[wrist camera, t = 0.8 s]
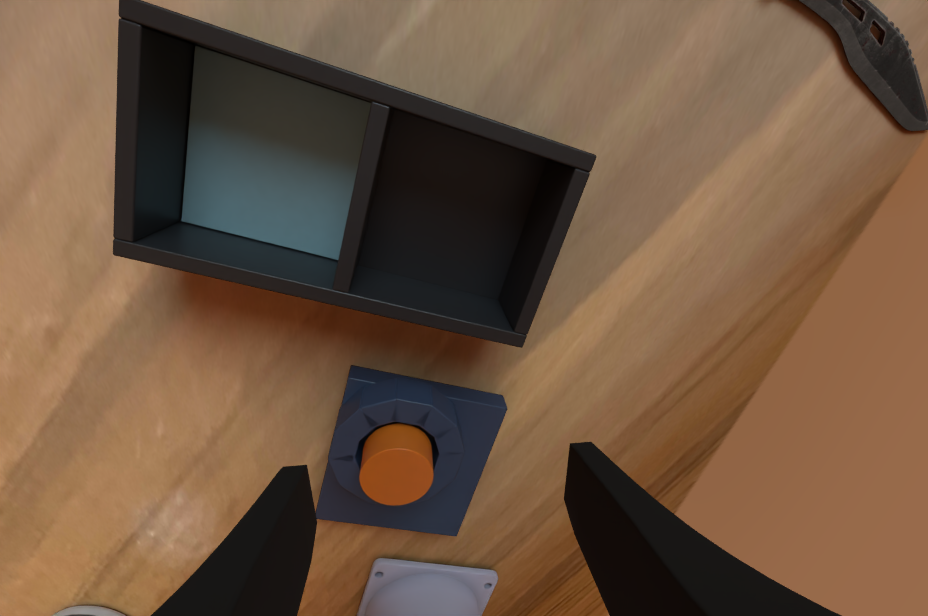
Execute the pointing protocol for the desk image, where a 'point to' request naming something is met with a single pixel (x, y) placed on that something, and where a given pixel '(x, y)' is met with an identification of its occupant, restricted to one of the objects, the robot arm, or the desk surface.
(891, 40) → the knife
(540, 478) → the desk surface
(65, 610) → the supplement bottle
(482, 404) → the block
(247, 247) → the rack
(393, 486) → the button
